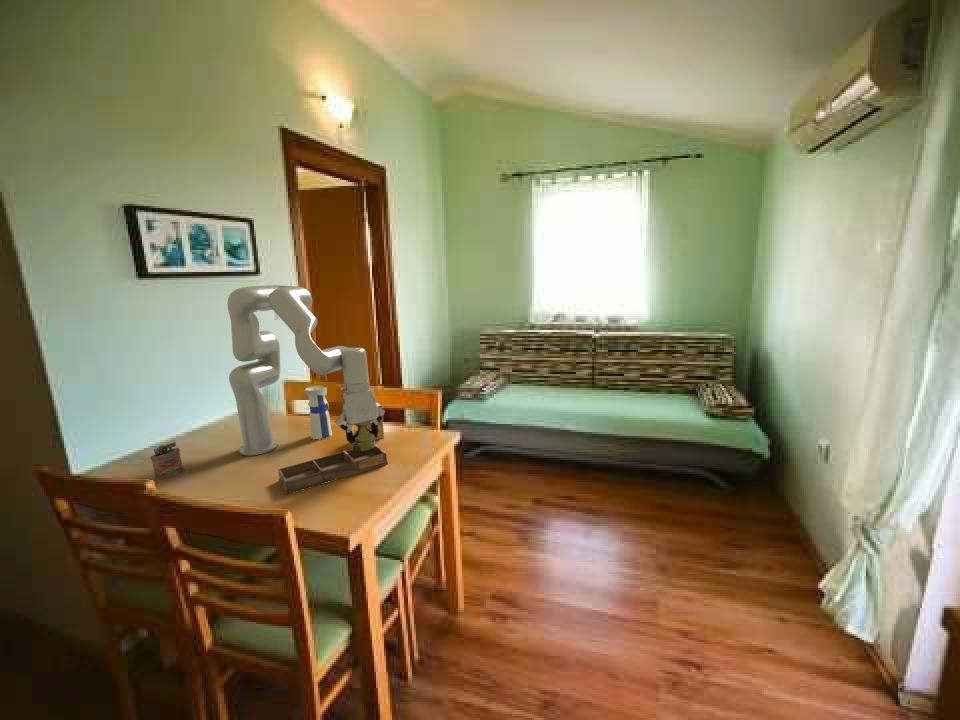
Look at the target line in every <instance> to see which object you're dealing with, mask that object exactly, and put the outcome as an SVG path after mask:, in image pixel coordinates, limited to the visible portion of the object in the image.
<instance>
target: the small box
mask: <svg viewBox="0 0 960 720" xmlns="http://www.w3.org/2000/svg"><path fill="white" fill-rule="evenodd" d="M376 404H377V407H379V408H381V409H383V407H382V405H381V404H380V403H378V402H377V401H376ZM378 414H379V411H378ZM383 419H384V418H382V419H381V420H380V422H379V424H378V433H377V436H378V437H374V439H375V441H377V440H381V438H382V439H384V438H385V432H384V422H383V421H384V420H383ZM371 424H372V421H369V423H368V424H367V425H366V428H368V429H369V430H371ZM371 431H372V430H371ZM376 439H377V440H376Z"/></svg>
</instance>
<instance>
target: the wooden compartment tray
mask: <svg viewBox="0 0 960 720" xmlns="http://www.w3.org/2000/svg"><path fill="white" fill-rule="evenodd" d="M388 464H389V461H388V460H387V452H386V451H385V450H384V449H382V448H381V447H380V446H379V445H378V444H376V443H375V447H374V448H372V449H370V450H367V451H355V450H353V449H347V450H345V449H344V450H342V451H340V452H336V453H333V454H328V455H325V456H322V457H317V458H315V459H310V460H307V461H303V462H299V463H295V464H293V465H289V466H284V467H282V468H278V469H277V471H278V482H279V483H280V485H282V486H281V487H282V489H283V491H284V490H285V491H284V492H286V493H285V494H286V495H287V494H289V495H291V494H290V493H292V494H294V493H293V492H295V493H297V492H296V491H298V492H300V491H299V490H302V489H305V490H307V489H306V488H308V489H310V488H309V487H311V488H314V487H313V486H315V487H317V486H316V485H318V486H320V485H319V484H321V485H323V484H322V483H325V482H328V481H331V482H333V481H332V480H334V481H336V480H335V479H338V480H339V478H341V479H343V478H342V477H344V478H347V477H350V475H351V476H353V474H354V475H356V473H357V474H360V473H364V472H367V471H369V470H373V469H376V468H379V467H382V466H386V465H388ZM366 470H367V471H366ZM363 471H364V472H363ZM359 472H360V473H359ZM346 476H347V477H346ZM328 483H329V482H328ZM325 484H326V483H325ZM302 491H303V490H302Z"/></svg>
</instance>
